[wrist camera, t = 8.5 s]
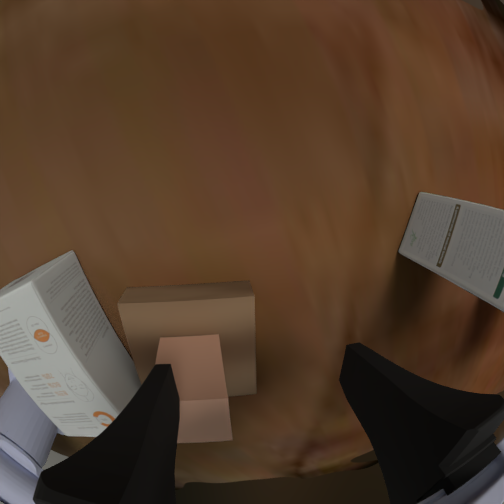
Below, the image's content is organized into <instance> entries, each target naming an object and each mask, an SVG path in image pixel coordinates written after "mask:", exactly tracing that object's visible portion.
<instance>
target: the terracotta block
mask: <svg viewBox="0 0 504 504" xmlns="http://www.w3.org/2000/svg"><path fill="white" fill-rule="evenodd" d="M156 364H171V367H172V371H173V375H174V379H175V383H176V387H177V391H178V394H179V398H180V421H179V430H178V438H177V443H199V442H216V441H228V440H233V439H232V430H231V421H230V412H229V403H228V395H227V388H226V382H225V375H224V368H223V361H222V354H221V347H220V339H219V334H216V335H201V336H184V337H161V338H160V341H159V346H158V351H157V357H156V362H155V365H156Z"/></svg>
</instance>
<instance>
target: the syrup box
mask: <svg viewBox="0 0 504 504" xmlns="http://www.w3.org/2000/svg"><path fill="white" fill-rule="evenodd" d="M398 252H399V253H400V254H401V255H403V256H405V257H407V258H409V259H411V260H413V261H414V262H416V263H418V264H420V265H422V266H423V267H425V268H427V269H429V270H431V271H433V272H434V273H436V274H438V275H440V276H442V277H443V278H445V279H447V280H449V281H451V282H452V283H454V284H456V285H458V286H459V287H461V288H463V289H464V290H466V291H468V292H469V293H471V294H473V295H475V296H477V297H479V298H480V299H482V300H484V301H486V302H487V303H489V304H491V305H493V306H494V307H496V308H498V309H499V310H501V311H503V312H504V210H502V209H498V208H494V207H491V206H486V205H483V204H478V203H473V202H469V201H465V200H460V199H455V198H451V197H446V196H441V195H436V194H431V193H425V192H420V193H419V195H418V197H417V200H416V203H415V206H414V208H413V211H412V214H411V217H410V220H409V223H408V226H407V229H406V231H405V234H404V237H403V240H402V242H401V245H400V248H399V251H398Z"/></svg>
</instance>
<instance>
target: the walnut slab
mask: <svg viewBox="0 0 504 504" xmlns="http://www.w3.org/2000/svg"><path fill="white" fill-rule="evenodd" d="M117 305H118V309H119V313H120V317H121V321H122V324H123V328H124V332H125V335H126V339H127V342H128V345H129V349H130V352H131V355H132V358H133V361H134V364H135V368H136V370H137V373H138V376H139V379H140V382H141V385H142V384H143V382H144V381H145V379H146V378H147V376H148V375H149V373H150V371H151V370H152V368H153V367H154V366H155V362H156V357H157V351H158V346H159V341H160V338H161V337H184V336H201V335H216V334H219V339H220V347H221V354H222V361H223V368H224V375H225V382H226V388H227V395H228V397H230V396H241V395H251V394H256V343H255V296H254V293H253V290H252V287H251V284H250V281H249V280H248V281H234V282H220V283H204V284H188V285H170V286H150V287H127V288H126V290H125V292H124V293H123V295H122V296H121V298H120V300H119V301H118V303H117Z"/></svg>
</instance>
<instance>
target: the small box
mask: <svg viewBox="0 0 504 504" xmlns="http://www.w3.org/2000/svg"><path fill="white" fill-rule="evenodd" d="M0 356H1V357H2V359H3V360H4V362H5V363H6V365H7V366H8V368H9V369H10V370H11V372H12V373H13V375H14V376H15V377H16V379H17V380H18V382H19V383H20V384H21V386H22V387H23V388H24V389H25V391H26V392H27V393H28V394H29V396H30V397H31V398H32V399H33V401H34V402H35V403H36V404H37V405H38V406H39V408H40V409H41V410H42V411H43V412H44V413H45V414H46V415H47V417H48V418H49V419H50V420H51V421H52V422H53V423H54V424H55V425H56V426H57V427H58V428H59V429H60V430H61V431H62V432H63V433H64V434H65V435H66V436H88V437H97V436H98V435H99V434H101V433H102V432H103V431H104V430H105V429H106V428H107V427H108V426H109V425H110V424H111V423H112V422H113V421H114V420H115V418H116V417H117V416H118V415H119V414H120V413H121V411H122V410H123V409H124V408H125V407H126V405H127V404H128V403H129V402H130V400H131V399H132V398H133V396H134V395H135V393H136V392H137V391H138V389H139V388H140V387H141V382H140V379H139V376H138V373H137V370H136V368H135V364H134V361H133V360H132V358H131V357H130V355H129V354H128V352H127V351H126V349H125V347H124V346H123V344H122V342H121V341H120V339H119V338H118V336H117V334H116V333H115V331H114V329H113V328H112V326H111V324H110V322H109V320H108V319H107V317H106V315H105V313H104V311H103V310H102V308H101V306H100V304H99V302H98V300H97V298H96V296H95V294H94V292H93V291H92V289H91V287H90V284H89V282H88V280H87V278H86V276H85V274H84V272H83V270H82V268H81V265H80V263H79V261H78V259H77V256H76V254H75V252H74V251H73V250H72V251H69V252H67V253H66V254H64V255H62V256H60V257H58V258H56V259H54V260H52V261H50V262H48V263H46V264H44V265H42V266H40V267H38V268H37V269H35V270H33V271H31V272H29V273H28V274H26V275H24V276H22V277H20V278H18V279H16V280H14V281H13V282H11V283H10V284H8V285H7V286H5V287H3V288H2V289H1V290H0Z"/></svg>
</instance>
